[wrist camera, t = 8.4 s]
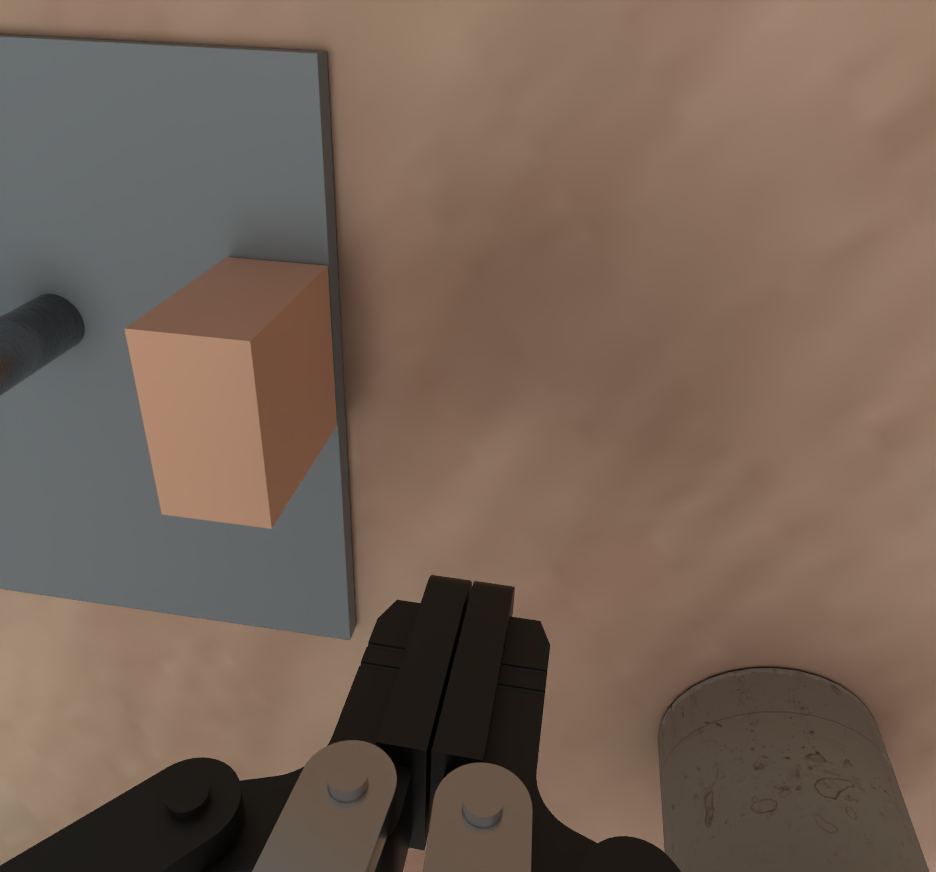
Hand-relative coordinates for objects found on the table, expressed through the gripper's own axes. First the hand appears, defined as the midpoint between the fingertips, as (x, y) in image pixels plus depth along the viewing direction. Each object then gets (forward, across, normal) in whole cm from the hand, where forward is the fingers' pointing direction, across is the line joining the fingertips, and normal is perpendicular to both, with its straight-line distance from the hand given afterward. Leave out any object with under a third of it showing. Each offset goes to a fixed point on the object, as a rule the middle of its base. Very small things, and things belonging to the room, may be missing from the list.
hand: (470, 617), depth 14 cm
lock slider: (+10, +7, 0) cm, 13 cm away
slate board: (+11, +18, +2) cm, 21 cm away
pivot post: (+11, +15, 0) cm, 19 cm away
